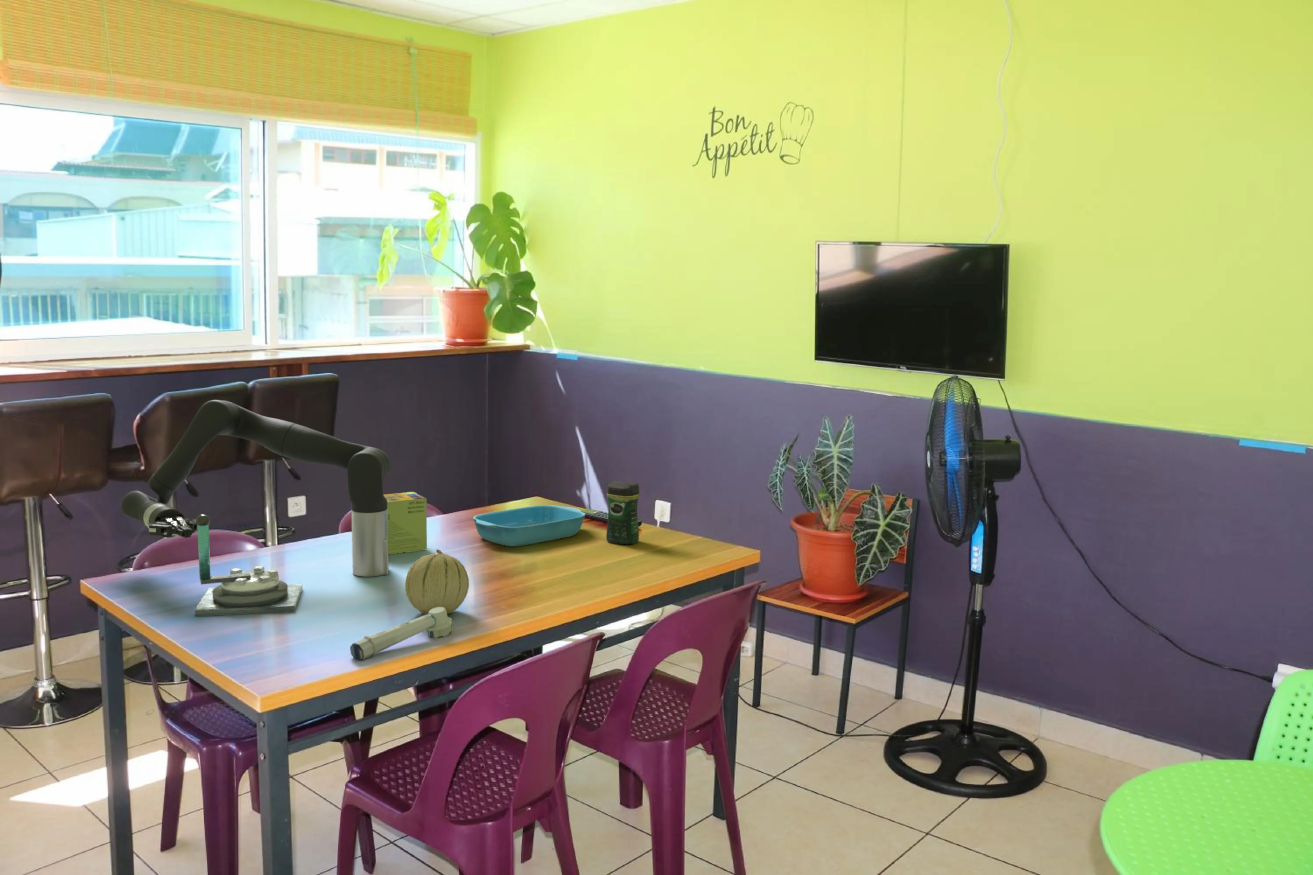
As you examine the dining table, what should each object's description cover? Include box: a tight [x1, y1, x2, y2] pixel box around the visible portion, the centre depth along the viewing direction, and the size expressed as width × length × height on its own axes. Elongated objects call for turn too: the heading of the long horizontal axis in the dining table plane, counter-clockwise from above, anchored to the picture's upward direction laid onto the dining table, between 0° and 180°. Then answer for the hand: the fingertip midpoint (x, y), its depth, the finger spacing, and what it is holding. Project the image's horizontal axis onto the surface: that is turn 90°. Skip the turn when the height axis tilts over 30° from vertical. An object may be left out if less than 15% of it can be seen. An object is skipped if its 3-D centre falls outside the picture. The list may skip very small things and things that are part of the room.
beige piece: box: [349, 607, 453, 661], centre depth 235 cm, size 5×7×25 cm
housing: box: [194, 580, 303, 617], centre depth 262 cm, size 22×18×4 cm
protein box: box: [383, 491, 428, 556], centre depth 313 cm, size 10×15×16 cm
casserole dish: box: [472, 504, 586, 547], centre depth 333 cm, size 37×22×7 cm, turn 135°
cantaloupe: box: [404, 549, 470, 615], centre depth 256 cm, size 15×15×15 cm
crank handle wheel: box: [195, 513, 280, 596], centre depth 259 cm, size 18×13×19 cm
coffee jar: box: [605, 480, 641, 545], centre depth 328 cm, size 10×8×19 cm
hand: (187, 533), depth 262 cm, fingers closed
